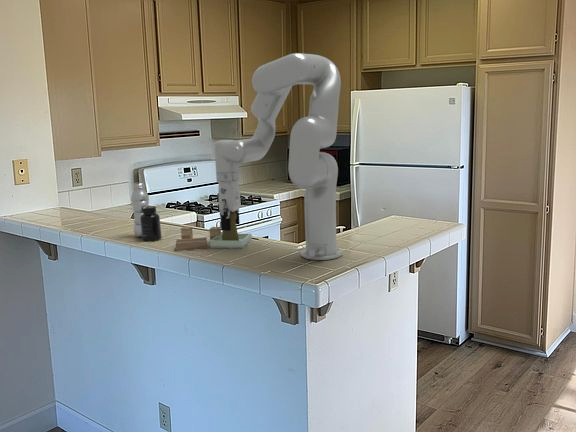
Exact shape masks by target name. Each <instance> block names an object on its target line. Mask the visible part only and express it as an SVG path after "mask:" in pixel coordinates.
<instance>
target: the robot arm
mask: <svg viewBox="0 0 576 432" xmlns="http://www.w3.org/2000/svg"><path fill="white" fill-rule="evenodd" d="M341 81H342V79H341V74H340V71H339V69H338V67H337V66H336V65H335V63H334V62H333V61H332V60H330V59H328V58H327V57H324V56H322V55H318V54H313V53H300V52H299V53H298V52H295V53H294V52H293V53H289V54H287V55H285V56H282V57H279V58H278V59H275V60H273V61H269V62H268V63H264V64H263V65H260V66H259V67H258V68H257V69H256V70H255V71H254V72H253V74H252V78H251V85H252V87H253V90H254V91H255V92H256V93H257V94H256V95H255V97H254V99H253V102H252V104H251V106H250V111H251V113H252V115H253V116H254V117H255V118H257V127H256V129H255V131H254V133H253V136H252V137H250V138H243V139H220V140H217V141H215V142H214V161H215V176H216V183H218V190H217V193H218V210H219V211H218V212H219V219H220V227H221V232H223V231H230V230H231V225H230V218H229V215H230V211H231V212H236V215H237V218H236V220H235V222H236V225H240V208H241V207H242V205H241V204H242V202H241V201H242V200H241V193H240V184H239V181H240V172H239V164H246V163H247V164H248V163H252V162H256V161H260V160H262V159H263V158H264V157H265V155H266V154H267V153H268V151H269V150H270V148H271V145H272V143H273V141H274V140H275V136H276V119H277V117H278V116H279V113H280V111H281V109H282V107H283V105H284V103H285V101H286V100H287V97H288V96H289V94H290V91H291V90H292V87H293V86H296V85H312V86H313V90H312V92H311V94H310V98H309V109H308V110H309V111H308V116H304V117H302V118H299V119H298V120H297V121H296V122H295V123H294V125H293V126H292V129H291V131H290V137H289V150H288V152H289V153H288V164H287V165H288V169H287V170H288V176H289V179H290V181H291V183H292V184H293V185H294V186H295V187H297V188H299V189H305V192H304V228H305V230H304V231H305V233H304V234H305V248H304V249H302V250H301V251H300V256H301V257H302V258H304V259H307V260H312V261H326V260H329V261H330V260H334V259H337V258H339V257H341V256H342V255H343V251H342V250H341V249H340V248H338V244H337V241H338V240H337V195H336V194H337V182H338V177H339V167H338V162H337V161H336V159H335V157H334V156H333V155H332V154H329V153H327V152H323V151H321V149H325V148H329V147H330V146H332V145H333V144H335V142H336V138H337V133H338V131H337V130H338V117H339V103H340V93H341V86H342V85H341V84H342V83H341ZM226 213H227V214H226Z"/></svg>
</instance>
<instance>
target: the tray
mask: <svg viewBox="0 0 576 432" xmlns="http://www.w3.org/2000/svg"><path fill="white" fill-rule="evenodd" d="M237 233H238V238H239V241H227V240H222V232H221V234H220V235H219V236H216V237H215V238H213V239H212V240H210V239H209V246H210V247H209V248H210V249H244V248H246V246H247V245H248V244H250V243H251V242H252V241H253V239H252V237H253V236H252V233H241V232H240V233H239V232H237Z"/></svg>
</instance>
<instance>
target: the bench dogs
mask: <svg viewBox="0 0 576 432" xmlns="http://www.w3.org/2000/svg"><path fill="white" fill-rule="evenodd" d="M221 233H222V230H221V226H212V227H210V228H209V241H210V240H212V239H213V238H215V237H216V236H219V235H220V234H221ZM180 237H181V238H180V239H191V238H194V233H193V226H182V227H181V228H180Z"/></svg>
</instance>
